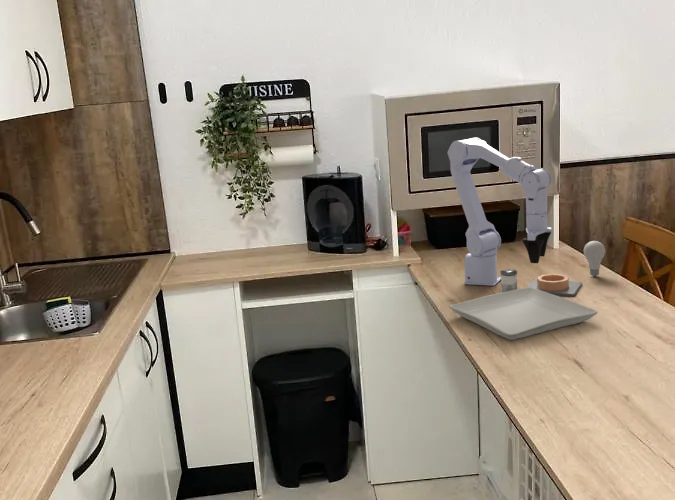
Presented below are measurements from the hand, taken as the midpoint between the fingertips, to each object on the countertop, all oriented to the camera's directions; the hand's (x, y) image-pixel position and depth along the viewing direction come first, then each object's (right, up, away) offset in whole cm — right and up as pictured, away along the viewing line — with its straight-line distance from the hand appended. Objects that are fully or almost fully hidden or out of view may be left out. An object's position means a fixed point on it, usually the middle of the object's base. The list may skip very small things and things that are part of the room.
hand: (537, 259), depth 206 cm
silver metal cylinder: (-8, -10, +2) cm, 13 cm away
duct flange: (+5, -9, +3) cm, 11 cm away
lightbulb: (+20, -5, +12) cm, 24 cm away
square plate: (-10, -16, -19) cm, 27 cm away
